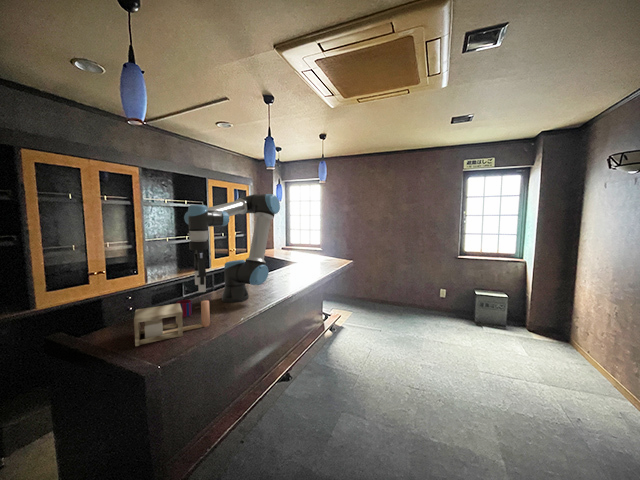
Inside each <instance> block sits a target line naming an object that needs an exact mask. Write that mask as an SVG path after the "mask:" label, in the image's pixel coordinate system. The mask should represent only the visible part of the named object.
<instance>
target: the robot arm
mask: <svg viewBox="0 0 640 480" xmlns="http://www.w3.org/2000/svg"><path fill="white" fill-rule="evenodd" d="M280 209H281V204H280V200H279V198H278V196H277V195H275V194H272V193H264V194H260V193H259V194H255V193H254V194H250V195H246V196H243V197H240V198H237V199H235V200H234V201H230V202H226V203H222V204H218V205H213V206H208V205H204V204H201V205H200V204H191V205H188V209H187V211H186V212H185V214H184V216H183V219H184V222H185V223H186V225H188V233H187V236H188V238H189V243H188V244H189V245H188V247H189V250H190V251H194V253H193V269H194V285H195V286H198V293H205V292H207V289H206V288H207V287H206V284H207V282H206V276H207V273H206V272H207V271H206V262H205V260H206V259H205V257H206V256H205V252H203V251H205V250H206V251H207V250H209V241H208V239H209V227H221V228H222V227H225V226H227V225H228V224H229V222H230V217H232V216H235V215H245V214H254V216H255V217H256V218H255V224H254V229H253V232H252V234H253V235H252V239H251V244H250V248H249V249H250V250H249V254H248V257H246V259H238V260H237V259H235V260H229V261H226V262H225V263H224V268H223V270H224V271H223V273H224V289H223V292H222V294H221V295H222V296H221V301H222V302H224V303H231V304H235V303H241V302H244V301H247V300H249V296H250V295H249V291H248V289H247V286H246V285H251V286H261V285H263V284H264V283H265V282H266V281H267V279H268V277H269V268H268V266H267V265H266V264H267V262H266V261H265V256H266V255H265V254H266V251H267V250H266V249H267V244H268V239H269V232H270V228H271V221H272V220H273V219H274V218H275V215H277V214H278V213H279V212H280Z"/></svg>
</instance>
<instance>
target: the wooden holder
mask: <svg viewBox="0 0 640 480" xmlns="http://www.w3.org/2000/svg"><path fill="white" fill-rule="evenodd" d="M134 311H135V313H134V317H133V327H134V345H135V347H139V346H141V345H146V344H151V343H156V342H159V341H163V340H165V341H166V340H168V339H174V338H180V337H183V336H184V331H183V327H184V326H183V318H182V315H183V312H182V309H181V305H180V303H177V304H176V303H172V304H165V305H159V306H152V307H151V306H150V307H146V308H138V309H135V310H134ZM172 317H175V322H174V323H168V324H163V331H166V330H171V329H176V328H178V332H175V333H170V334H165V335H160V336H155V337H151V338H146V339H145V338H142V339H141V335H145V328H143V329H141V323H143V322H144V323H145V321H150V320H156V319H161V318H162V319H165V318H172Z"/></svg>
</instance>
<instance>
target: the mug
mask: <svg viewBox="0 0 640 480" xmlns="http://www.w3.org/2000/svg"><path fill="white" fill-rule="evenodd" d="M177 303H180V305H181V309H182V312H183V315H182V319H183V318H189V317H190V316H192V315H193V314H192V313H193V311H192V310H193V309H192V307H193V306H192V305H193V304H192V300H191V299H181V300H177V301H176V303H175V304H177Z"/></svg>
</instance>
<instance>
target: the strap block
mask: <svg viewBox="0 0 640 480" xmlns="http://www.w3.org/2000/svg"><path fill="white" fill-rule="evenodd" d="M200 311H201V312H200V316H201V317H200V318H201V323H197V324H192V325H188V326H183V332H187V331H191V330H195V329H199V328H206V327H209V326H210V325H211V318H210V317H211V316H210V315H211V314H210V300H207V299H206V300H201V301H200ZM163 325H164V324H163V318H161V319H156V320H150V321H144V329H145V334H144V339H146V338H151V337H155V336H160V335H165V334H170V333H175V332H178V327H176V328H171V329H166V330H163Z"/></svg>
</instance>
